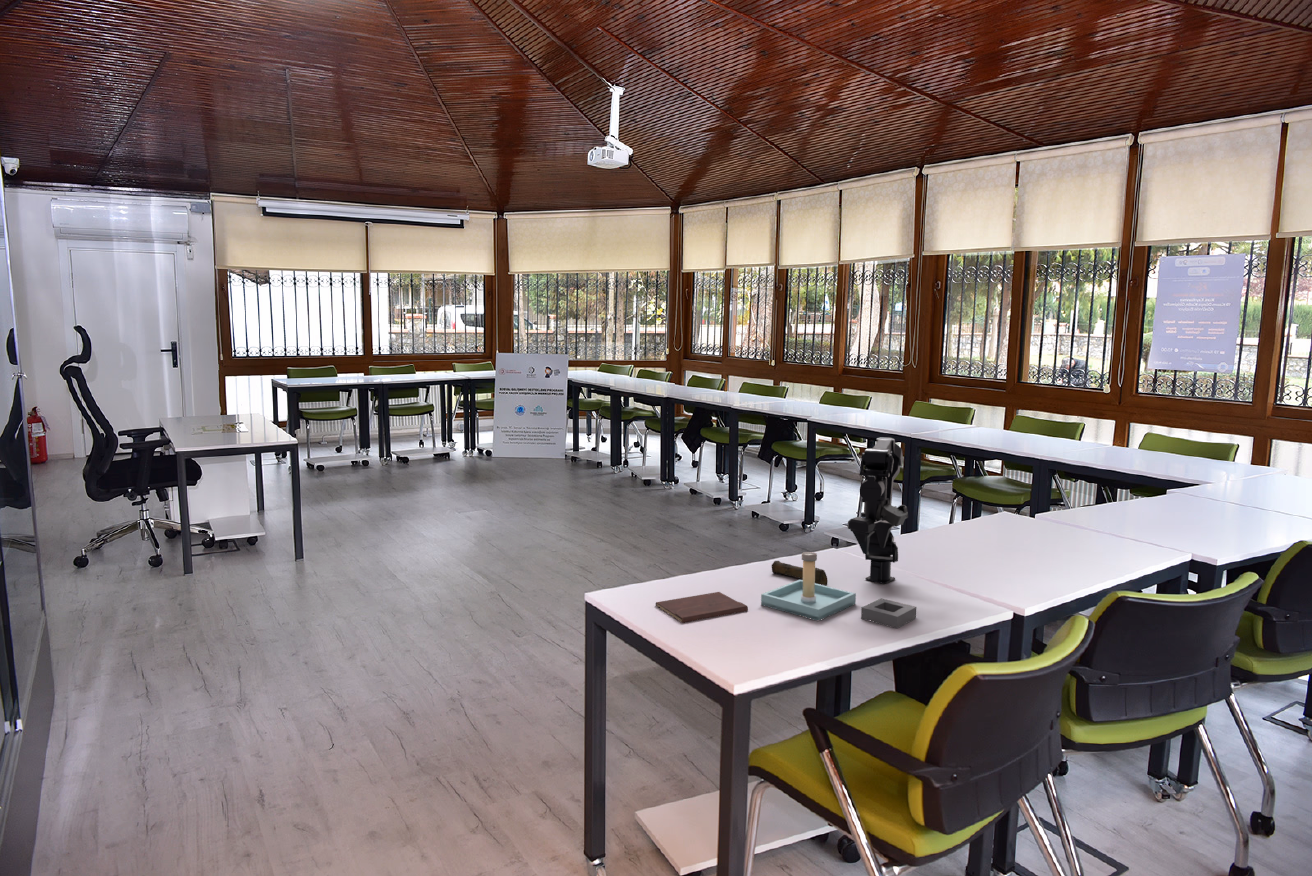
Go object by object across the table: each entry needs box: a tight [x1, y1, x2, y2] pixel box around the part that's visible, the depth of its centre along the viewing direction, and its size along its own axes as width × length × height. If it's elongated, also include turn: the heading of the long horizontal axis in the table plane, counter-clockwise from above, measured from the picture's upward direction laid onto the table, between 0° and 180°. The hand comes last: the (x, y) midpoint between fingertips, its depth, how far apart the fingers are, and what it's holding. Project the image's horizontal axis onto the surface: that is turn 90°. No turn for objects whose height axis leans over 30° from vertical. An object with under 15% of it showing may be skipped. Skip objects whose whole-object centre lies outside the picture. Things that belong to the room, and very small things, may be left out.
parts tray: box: [760, 579, 857, 621], centre depth 223 cm, size 18×18×3 cm
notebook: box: [655, 591, 749, 624], centre depth 221 cm, size 15×20×2 cm
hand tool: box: [771, 560, 828, 586], centre depth 246 cm, size 19×4×5 cm, turn 42°
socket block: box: [860, 597, 918, 629], centre depth 212 cm, size 10×10×3 cm
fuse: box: [801, 551, 818, 603], centre depth 222 cm, size 4×4×13 cm
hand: (873, 550), depth 228 cm, fingers open, 9 cm apart
